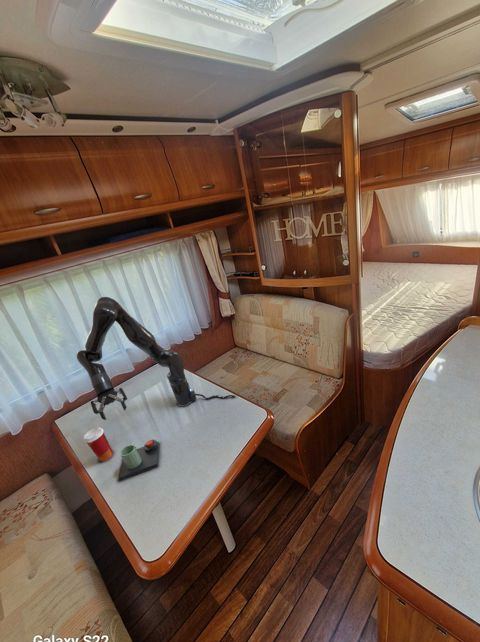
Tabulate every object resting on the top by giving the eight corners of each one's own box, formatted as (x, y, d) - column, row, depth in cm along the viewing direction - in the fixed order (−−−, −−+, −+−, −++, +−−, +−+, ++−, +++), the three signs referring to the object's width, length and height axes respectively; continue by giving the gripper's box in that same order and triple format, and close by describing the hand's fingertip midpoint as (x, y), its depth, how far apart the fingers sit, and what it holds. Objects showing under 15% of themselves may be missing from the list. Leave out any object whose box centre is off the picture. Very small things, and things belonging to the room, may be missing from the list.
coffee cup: (102, 451, 133) (88, 428, 127) (118, 447, 133) (105, 424, 127) (93, 465, 126) (78, 442, 120) (111, 461, 126) (97, 438, 120)
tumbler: (142, 455, 124) (135, 442, 120) (140, 465, 118) (134, 452, 115) (128, 460, 122) (121, 447, 119) (126, 471, 117) (118, 458, 113)
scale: (159, 443, 131) (156, 437, 129) (157, 466, 118) (155, 460, 117) (125, 455, 128) (122, 450, 126) (119, 481, 115) (116, 475, 113)
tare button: (153, 441, 128) (152, 439, 127) (153, 446, 125) (152, 443, 125) (147, 444, 127) (146, 441, 127) (146, 448, 125) (145, 445, 124)
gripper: (119, 380, 134) (132, 408, 130) (87, 393, 128) (100, 424, 123) (116, 375, 128) (130, 405, 123) (83, 389, 121) (96, 421, 117)
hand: (115, 414), depth 123 cm, fingers open, 8 cm apart
